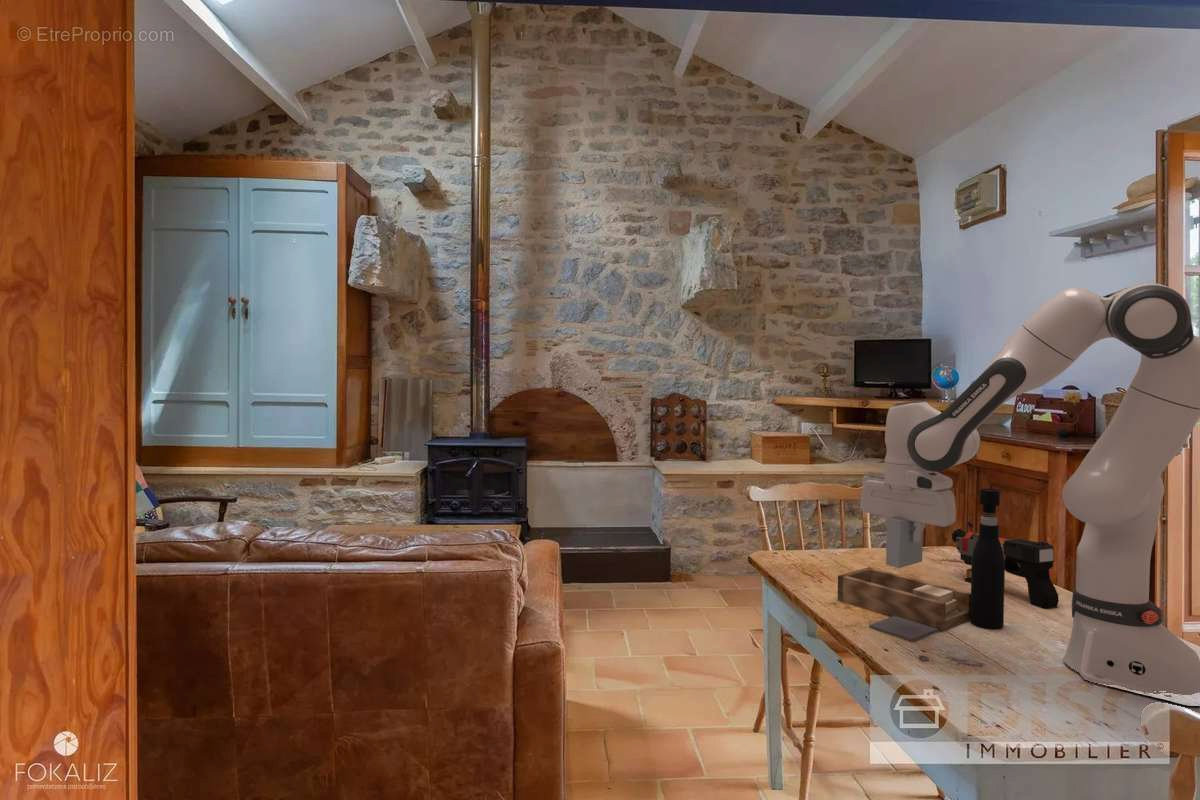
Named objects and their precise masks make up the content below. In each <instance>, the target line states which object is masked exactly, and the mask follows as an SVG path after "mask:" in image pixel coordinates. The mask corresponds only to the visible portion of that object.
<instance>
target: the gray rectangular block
mask: <svg viewBox="0 0 1200 800" xmlns="http://www.w3.org/2000/svg"><path fill="white" fill-rule="evenodd" d="M916 528H917V527H915V526H914V521H909V520H908V519H902V518H897V517H892V518H887V523H886V545H885V546H886V547H885V548H886V549H885V550H886V552H885V553H886V555H885V560H886V561H885V565H886V566H888V567H894V568H896V569H901V568H905V567H908V566H911V565H914V564H918V563H922V562H923V544H924V543H923V542H924V539H923V538H924V535H923V534H924V530H923V531H922V533H921V534H920V542H918V543H915V542H910V541H909V538H910V537H909V534H910V533H914V531H915V530H916Z"/></svg>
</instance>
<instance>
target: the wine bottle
mask: <svg viewBox="0 0 1200 800" xmlns="http://www.w3.org/2000/svg"><path fill="white" fill-rule="evenodd" d="M1000 496H1001V491H1000V490H999V489H996V488H980V489H979V505H981V506H982V512H981V513H982V515H981V516H980V523H979V525H978V526H979V527H978V534H979V537H978V539H977V542H976V544H975V547H974V550H973V554H972V566H971V568H970V569H971V583H970V593H971V614H970V620H969V621H970V623H971V625H972V626H976V627H977V628H980V629H986V630H992V631H993V630H1001V629H1004V622H1005V621H1004V619H1005V618H1004V617H1005V616H1004V615H1005V581H1006V580H1005V578H1006V577H1005V576H1006V573H1005V572H1006V571H1005V559H1004V554H1003V549H1002V547H1001V544H1000V541H999V538H1000V537H999V535H1000V533H999V530H1000V529H999V528H1000V527H999V526H1000V525H999V522H998V516H997V509H996V508H997V507H998V506H1000V505H1001V503H1000V501H1001V500H1000V499H1001V497H1000Z"/></svg>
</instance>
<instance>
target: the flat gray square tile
mask: <svg viewBox="0 0 1200 800" xmlns="http://www.w3.org/2000/svg"><path fill="white" fill-rule="evenodd" d="M868 628H870V629H873V630H875V631H879V632H882V633H884V634H888V635H890V636H893V637H897V638H900V639H904V640H906V641H909V642H915V641H918V640H920V639H923V638H925V637H928V636H930V635H933V634H935V633H937V632H939V631H938V629H937V628H934V627H931V626H927V625H924V624H921V623H917V622H914V621H911V620H908V619H904V618H901V617H898V616H893V617H892V616H889V617H886V618H885V619H882V620H879V621H876V622H873V623H870V624H868Z"/></svg>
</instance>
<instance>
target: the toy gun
mask: <svg viewBox="0 0 1200 800" xmlns="http://www.w3.org/2000/svg"><path fill="white" fill-rule="evenodd" d="M978 537H979V533H974V532H971V531H969V532H967V531H965V530H962V528H960V527H958V528H957V529H955V530H953V532H952V534H951V539H952V541H953V542H954V543H956V546H955V547H956V550H957V551H958V552H959V554H960V556H959V557H960V560H961V561H963V562H964V564H966V565H969V566H971V567H972V554H973V550H974V547H975V544H976V542H977V539H978ZM999 541H1000V544H1001V547H1002V549H1003V554H1004V559H1005V572H1006V573H1007V574H1011V575H1014V576H1016V577H1017V576H1018V577H1020V578H1021V577H1022V578H1024V579H1025V581H1026V583H1027V591H1028V592H1027V594H1028V598H1029V602H1030V605H1031V606H1034V607H1037V608H1040V609H1049V608H1050V609H1051V608H1057V607H1058V604H1059V601H1060V600H1059V593H1058V592H1057V589H1056V587H1055V584H1053V581H1052V580H1051V577H1050V569H1052V568H1053V567H1054V562H1055V548H1054V546H1053V544H1050V543H1049V542H1044V541H1039V542H1038V541H1034V540H1028V539H1022V538H1014V539H1012V538H1011V539H1008V538H1003V537H999ZM965 572H966V578H964V581H965V582H967V583H970V584H971V568H967V569H966V571H965Z"/></svg>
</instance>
